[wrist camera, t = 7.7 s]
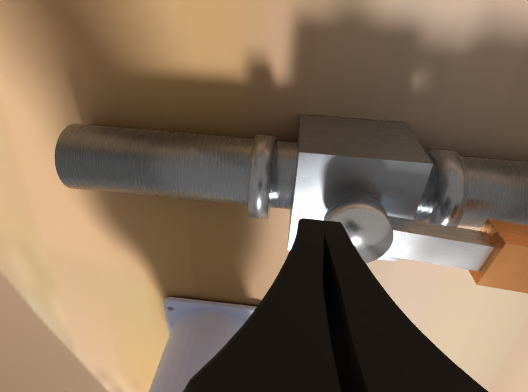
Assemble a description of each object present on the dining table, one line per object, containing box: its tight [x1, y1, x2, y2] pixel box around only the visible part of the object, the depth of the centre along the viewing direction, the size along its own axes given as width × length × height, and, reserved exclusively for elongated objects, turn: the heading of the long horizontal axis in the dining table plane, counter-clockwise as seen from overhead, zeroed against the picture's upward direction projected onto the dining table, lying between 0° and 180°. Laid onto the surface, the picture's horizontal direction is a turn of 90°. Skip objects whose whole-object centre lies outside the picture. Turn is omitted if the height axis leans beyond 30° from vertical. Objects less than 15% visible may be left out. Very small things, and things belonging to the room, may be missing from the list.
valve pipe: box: [55, 114, 528, 261], centre depth 18 cm, size 6×30×5 cm, turn 87°
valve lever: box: [324, 196, 528, 293], centre depth 15 cm, size 13×3×2 cm, turn 82°
